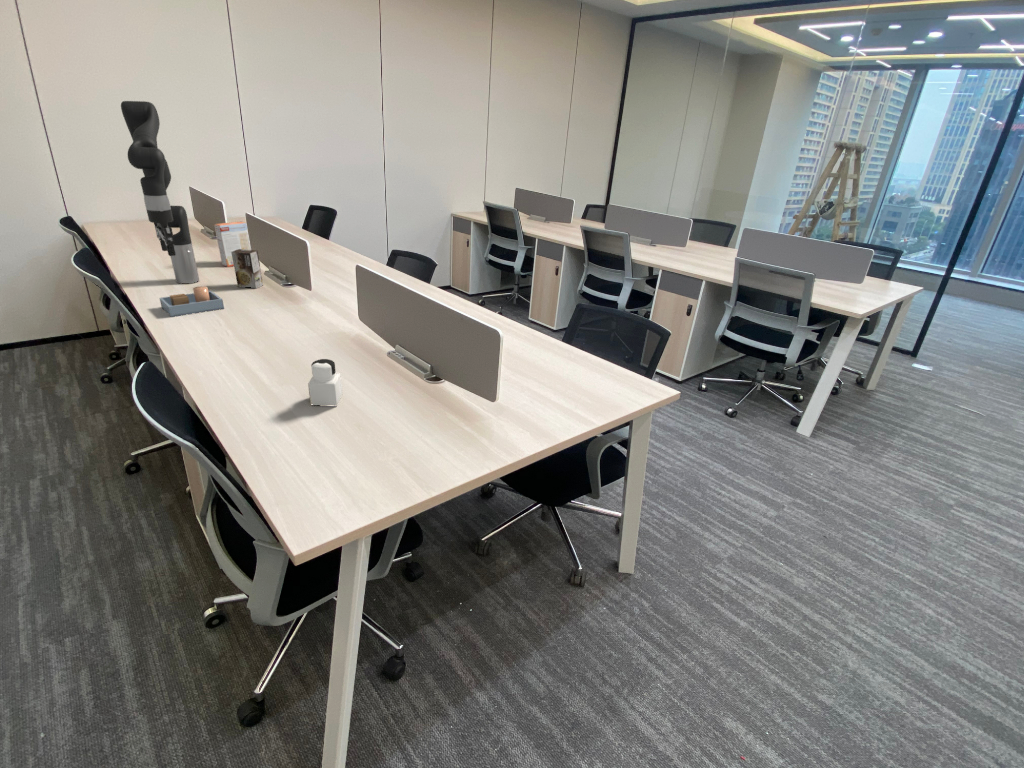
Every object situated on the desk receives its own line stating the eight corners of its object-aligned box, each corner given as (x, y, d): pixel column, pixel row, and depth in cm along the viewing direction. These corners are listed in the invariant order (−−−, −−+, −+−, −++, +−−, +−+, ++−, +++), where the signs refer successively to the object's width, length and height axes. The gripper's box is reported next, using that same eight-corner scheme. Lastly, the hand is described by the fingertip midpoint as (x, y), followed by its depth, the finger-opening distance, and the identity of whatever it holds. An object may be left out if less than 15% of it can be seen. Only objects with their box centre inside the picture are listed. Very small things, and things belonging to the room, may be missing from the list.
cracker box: (247, 261, 274) (241, 221, 265) (253, 263, 271) (247, 222, 262) (221, 265, 264) (213, 223, 254) (227, 267, 260) (219, 225, 251)
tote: (161, 307, 202) (159, 297, 200) (213, 300, 214) (211, 290, 212) (171, 317, 193) (168, 307, 191) (224, 308, 205) (222, 299, 203)
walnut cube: (172, 307, 201) (169, 295, 198) (186, 305, 204) (184, 293, 202) (176, 311, 197) (173, 298, 195) (190, 309, 201) (187, 296, 198)
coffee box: (263, 285, 237) (258, 250, 230) (256, 288, 231) (250, 253, 224) (245, 283, 238) (239, 248, 231) (236, 287, 232) (230, 251, 225)
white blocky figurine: (317, 394, 147) (312, 356, 141) (342, 395, 147) (339, 356, 142) (310, 406, 140) (305, 366, 135) (337, 406, 141) (333, 367, 136)
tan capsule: (195, 304, 206) (191, 287, 203) (208, 302, 209) (205, 285, 206) (198, 307, 203) (195, 290, 200) (212, 305, 206) (209, 288, 203)
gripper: (141, 205, 186) (152, 250, 193) (151, 211, 177) (162, 258, 184) (165, 204, 190) (175, 248, 198) (176, 210, 182) (186, 256, 189)
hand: (169, 253), depth 191 cm, fingers open, 8 cm apart
